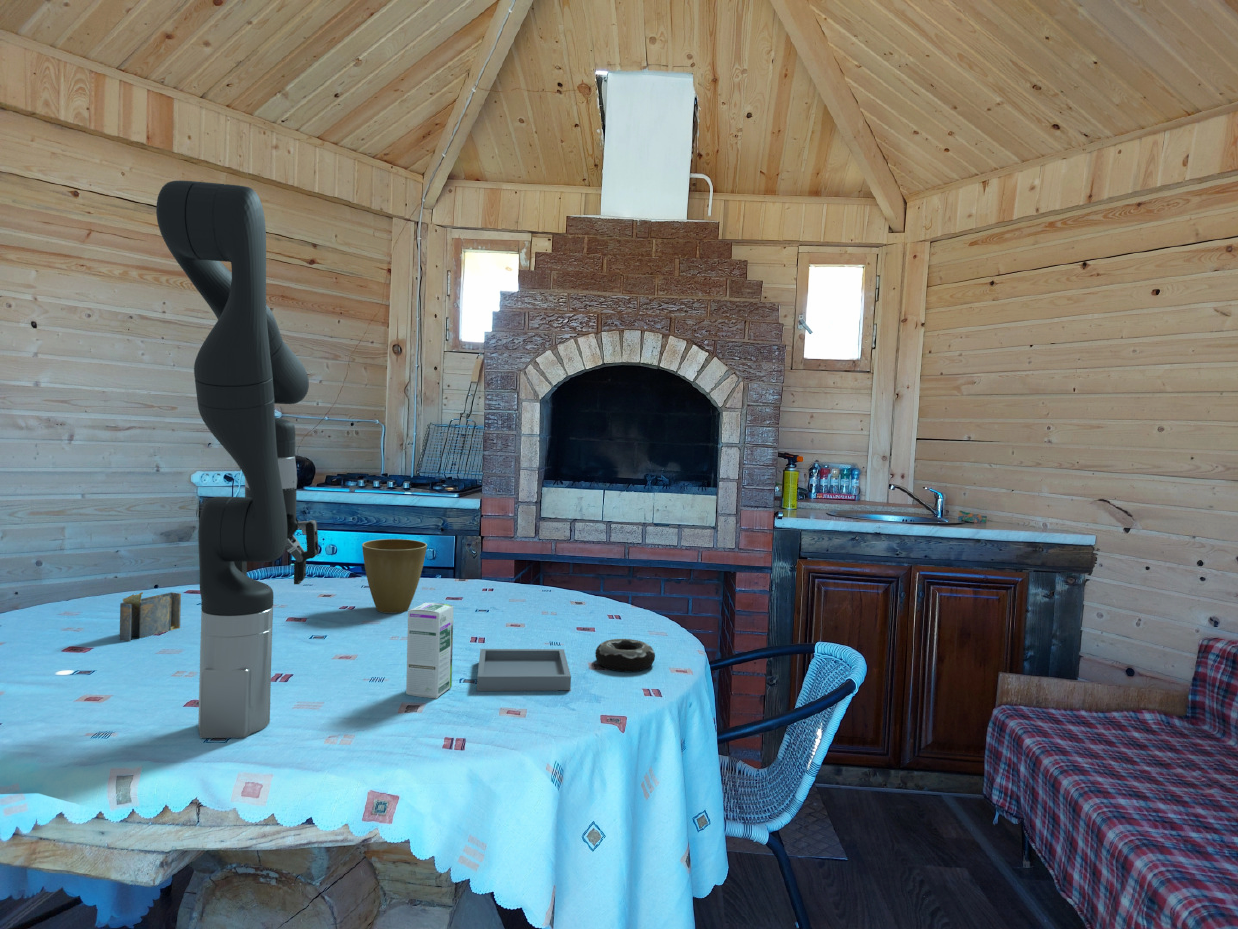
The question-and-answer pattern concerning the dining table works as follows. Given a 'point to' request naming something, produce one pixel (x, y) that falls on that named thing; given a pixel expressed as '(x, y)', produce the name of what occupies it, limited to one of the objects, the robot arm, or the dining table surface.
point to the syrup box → (429, 650)
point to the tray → (523, 670)
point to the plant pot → (393, 572)
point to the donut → (625, 654)
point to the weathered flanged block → (149, 615)
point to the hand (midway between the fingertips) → (270, 583)
